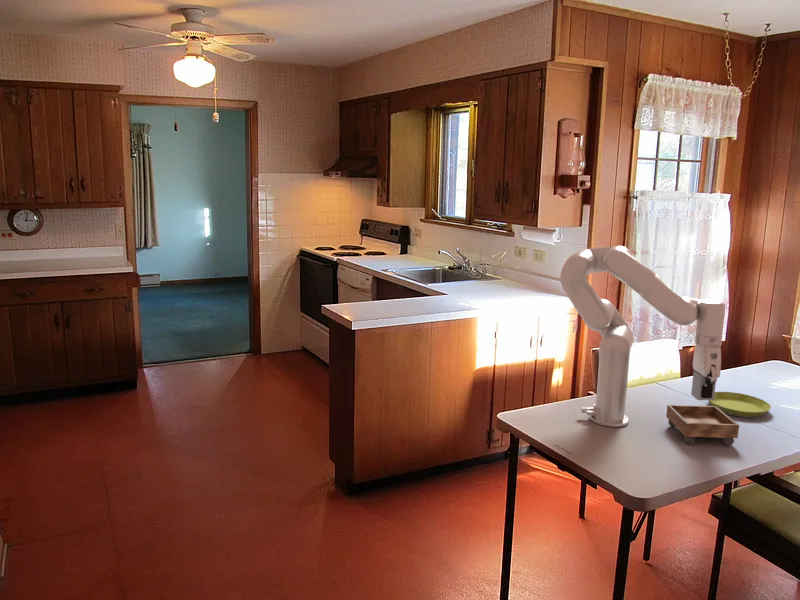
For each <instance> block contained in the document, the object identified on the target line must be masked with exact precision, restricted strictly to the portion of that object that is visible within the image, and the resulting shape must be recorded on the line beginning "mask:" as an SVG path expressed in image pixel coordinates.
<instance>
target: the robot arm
mask: <svg viewBox="0 0 800 600" xmlns="http://www.w3.org/2000/svg"><path fill="white" fill-rule="evenodd" d="M604 272H605V273H606V272H608V273H609V274H610V275H612V276H613V277H615V278H616V279H617V280H618V281H620V282H622V283H623V284H625V286H627V287H629V288H630V289H631V290H633V291H634V292H635V293H637V294H638V295H639V296H640V297H641V298H642V299H644V300H645V301H646V302H647V303H648V304H649V305H650V306H652V307H653V308H654V310H656V311H658V312H659V313H660V314H662V316H664V317H665V318H667V319H668V320H669V321H671V322H672V323H673V324H674V323H675V324H677V325H679V326H690V325H691V324H692V323H694V322H695V321H696V327H695V328H696V329H695V338H694V344H695V347H694V351H693V356H692V357H693V359H692V368H693V372H694V371H697V372H698V373H699V374H701V375H702V376H704V379H703V382H704V386H702V392H701V397H702V398H712V392H713V387H714V384H715V382H716V383H717V382H718V378H720V377H721V371H722V370H721V369H722V368H721V367H722V351H721V350H722V349H721V346H722V343H723V342H722V340H723V332H724V324H725V323H724V322H725V315H726V314H725V313H726V304H725V303H724V302H723V301H721V300H715V299H699V298H696V297H695V298H694V297H692V296H691V297H690V296H680V295H678V294H677V293H675V292H674V291H673V290H671V289H670V288H669V287H668V286H667V285H666V284H665V282H664V281H663V280H662V279H661V277H660V276H659V274H658V273H657V272H656V271H655V270H653V269H651V268H650V267H649V266H647V265H646V264H645V263H643V262H641V261H640V260H638V259H637V258H636V257H635V256H633V254H632V253H631V250H629V248H627V247H626V246H623V245H613V246H604V247H594V248H585V249H580V250H578V251H576V252H574V253H573V254H571V255H570V256H569V257H568V258H567V259H566V260H565V262H564V263H563V266H562V268H561V271H560V277H559V278H560V279H559V280H560V284H561V288H562V290H563V291H564V293H565V294H566V297H567V298H568V299H569V301H570V302H571V304H572V306H573V307H574V309H575V310H576V311H577V313H578V315H579V316H580V317H581V319H582V321H583V322H584V324H585V326H586V327H587V328H588V329H590V330H592V331H594V332H598V333H599V334H600V336H601V339H600V343H599V347H598V348H599V350H598V351H599V353H598V356H599V357H598V370H597V371H598V372H597V373H598V374H597V385H596V386H597V387H596V397H595V403H593V404H592V406H590V407H585V406H584V407H583V406H581V407H580V413H581V414H583V413H584V414H586V415H587V416H589V418H590V420H591V421H592V422H594V423H595V424H597V425H600V426H604V427H611V428H620V427H625V426H626V425H628V424H629V423H630V422H629V421H630V419H629V417H628V416H627V415H625V410H626V400H627V390H628V379H629V371H630V370H629V367H630V354H631V349H632V346H633V345H634V344H633V343H634V338H635V337H634V333H633V332H632V329H631V328H630V326H629V325H628V323H627V321H626V320H625V319H624V318H623V316H622V314H621V313H620V312H619V310H618V309H617V308H616V305H614V303H612V302H611V301H610V300H608V299H606V298H600V296H599V294H598V293H597V292H596V291H595V288H594V287H593V286H592V285H591V283H589V281H588V276H589V275H590V274H593V273H604ZM707 375H711V376H707ZM707 378H711V379H710V380H708V381H707Z"/></svg>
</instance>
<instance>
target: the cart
mask: <svg viewBox="0 0 800 600" xmlns="http://www.w3.org/2000/svg"><path fill="white" fill-rule="evenodd" d="M666 406H667V408H666V413H665V415H666V418H667V419H668V425H669V426H670V427H671V428H676V429H678V431H679V432H680V433H681V434H682V435H683V436H684V437H683V441H684V442H685V443H686V444H687V445H692V444H694V443H695V442H696V438H721V439H722V440H721V441H722V442H723V443H724V444H725V445H726V446H731V445H733V444H734V443H735V439H738V438H739V430H740V425H739V424H738V423H737V422H736V421H735V420H734V419H732V418H731V417H730V416H728V414H726V413H724V412H722V411H721V410H720V409H719V408H718V407H716V406H712V405H689V404H688V405H687V404H686V405H682V404H680V405H679V404H667V405H666Z"/></svg>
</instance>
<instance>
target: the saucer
mask: <svg viewBox="0 0 800 600" xmlns="http://www.w3.org/2000/svg"><path fill="white" fill-rule="evenodd" d="M707 401H708V403H709V404H710V406H716V407H718V408H719V409H720V410H721V411H722V412H724V413H725V414H726V413H727V414H726V415H730V416H735V417H739V416H740V417H741V418H757V417H761V416H763V415H765V414H767V413H768V412H769V411H770V410H771V408H772V406H771V404H770V403H769V402H768V401H766V400H764V399H761V398H759V397H756V396H753V395H749V394H745V393H740V392H731V391H715V394H714V400H707Z"/></svg>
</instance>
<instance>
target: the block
mask: <svg viewBox="0 0 800 600" xmlns="http://www.w3.org/2000/svg"><path fill="white" fill-rule="evenodd" d="M692 373H693V374H692V384H691V396H692V397H693V398H694V399H696V400H697V401H708V400H714V394H715V392H716V384H717V381H716V382H715V384H714V387H713V392H712V398H702V397H701V392H702V386H704V382H703V379H704V376H702V375H701V374H699V373H698V372H697V371H694V370H693V372H692ZM707 376H711V375H707ZM710 379H711V378H707V381H708V380H710Z"/></svg>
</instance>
